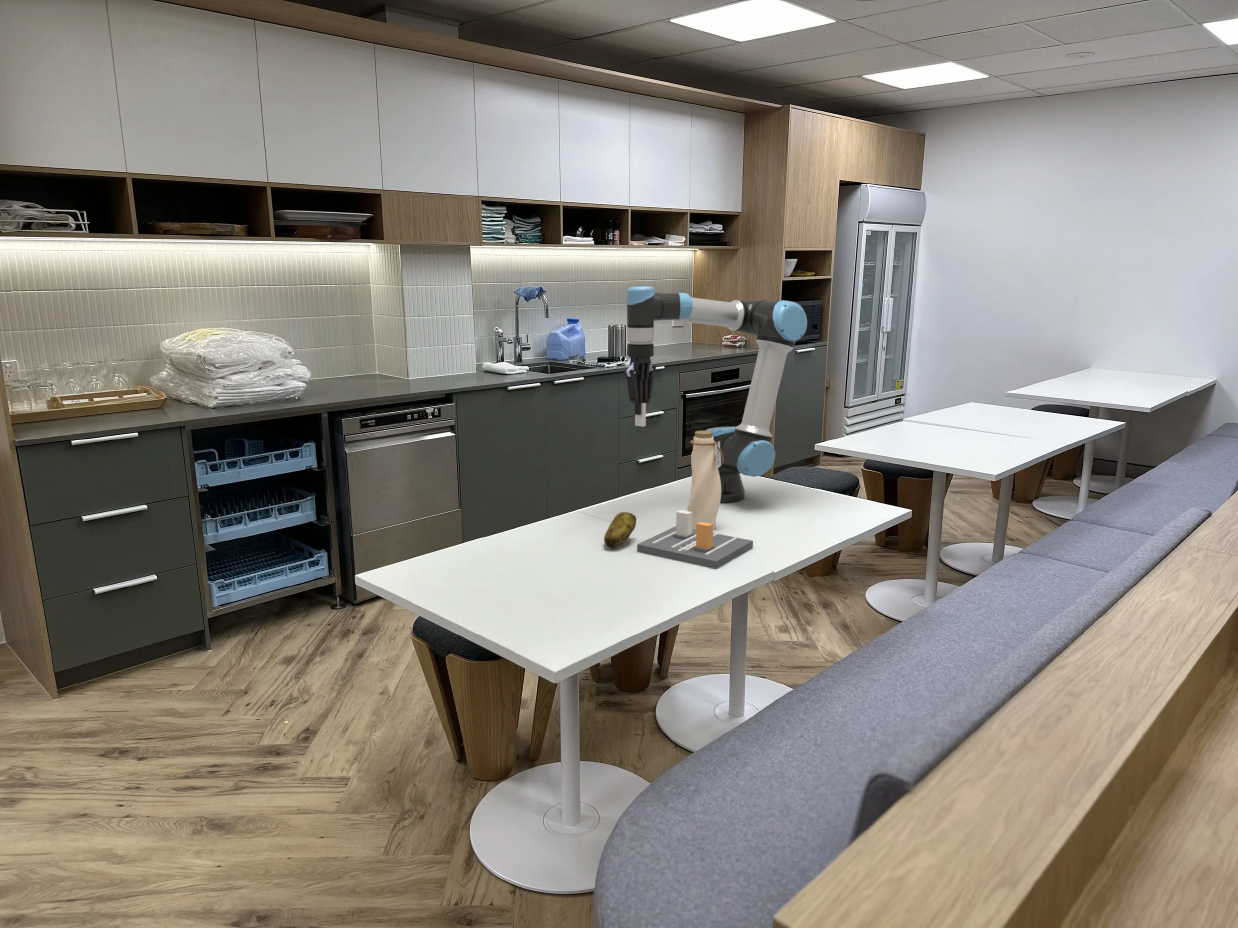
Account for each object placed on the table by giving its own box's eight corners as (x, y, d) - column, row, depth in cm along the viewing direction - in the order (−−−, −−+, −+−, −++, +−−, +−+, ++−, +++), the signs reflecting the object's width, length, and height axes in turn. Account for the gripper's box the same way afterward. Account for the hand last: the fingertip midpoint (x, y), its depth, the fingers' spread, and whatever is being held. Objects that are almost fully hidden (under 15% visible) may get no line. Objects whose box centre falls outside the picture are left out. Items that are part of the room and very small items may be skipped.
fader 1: (681, 533, 237) (681, 509, 236) (694, 536, 235) (694, 511, 233) (673, 537, 234) (674, 512, 232) (686, 539, 232) (686, 514, 230)
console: (676, 532, 245) (676, 523, 244) (752, 547, 231) (753, 538, 231) (637, 551, 229) (637, 541, 228) (716, 568, 215) (716, 558, 215)
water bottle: (722, 522, 254) (724, 429, 247) (722, 532, 245) (724, 435, 239) (687, 522, 255) (688, 429, 248) (686, 531, 246) (687, 435, 240)
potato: (591, 546, 234) (591, 517, 232) (623, 535, 243) (623, 507, 241) (614, 552, 228) (614, 523, 226) (646, 541, 237) (646, 513, 236)
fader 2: (701, 546, 226) (701, 520, 225) (714, 548, 224) (715, 523, 223) (693, 550, 223) (694, 524, 222) (707, 553, 221) (707, 526, 219)
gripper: (642, 340, 248) (642, 421, 254) (615, 343, 238) (616, 427, 243) (664, 341, 244) (663, 423, 249) (638, 345, 234) (638, 430, 239)
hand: (640, 425), depth 246 cm, fingers closed
